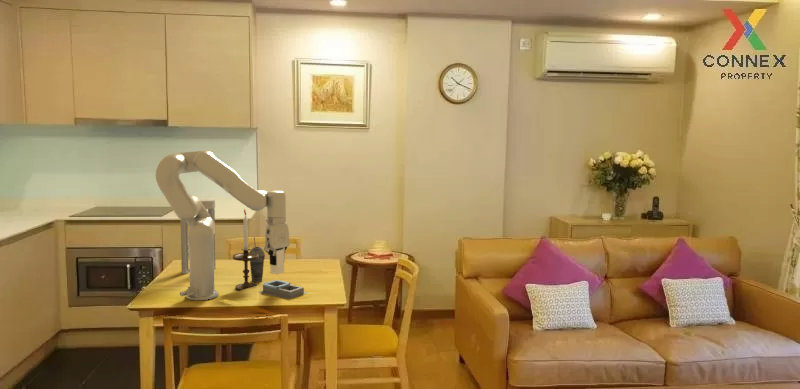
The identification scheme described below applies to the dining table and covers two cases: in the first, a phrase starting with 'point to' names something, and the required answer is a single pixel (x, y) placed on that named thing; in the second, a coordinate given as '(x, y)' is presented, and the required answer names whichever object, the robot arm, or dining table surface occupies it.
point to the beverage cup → (257, 264)
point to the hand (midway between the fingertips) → (277, 263)
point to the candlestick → (245, 257)
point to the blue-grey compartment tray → (282, 289)
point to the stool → (208, 204)
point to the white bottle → (278, 262)
